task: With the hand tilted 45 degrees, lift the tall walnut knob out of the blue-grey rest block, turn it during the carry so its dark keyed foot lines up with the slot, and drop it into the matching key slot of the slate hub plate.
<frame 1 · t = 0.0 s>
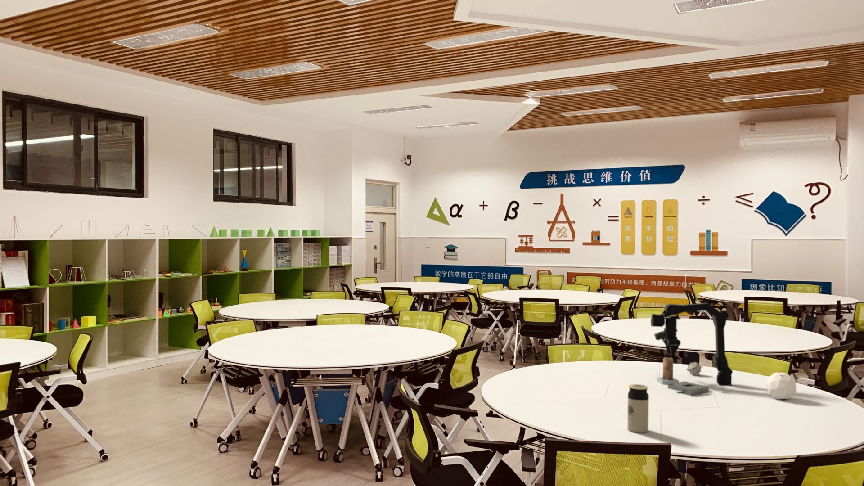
hand: (670, 355, 344), 15 cm above the table, tool pointing down, fingers open, 9 cm apart
spiky grey ball: (694, 375, 364), on the table
travel mug: (637, 430, 255), on the table
geodesic sphere: (780, 399, 310), on the table
knob: (667, 382, 339), point 1 cm above the table, touching rest block
rest block: (667, 384, 339), on the table
hub plate: (688, 391, 324), on the table
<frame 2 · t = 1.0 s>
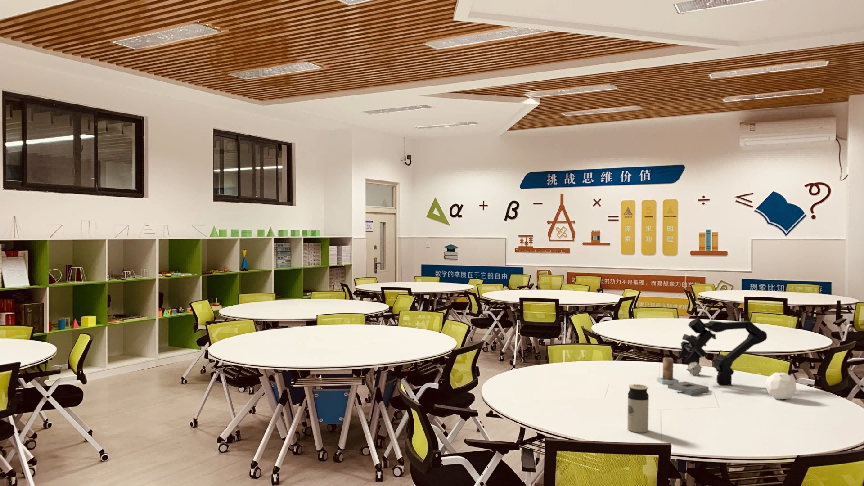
hand: (682, 360, 339), 13 cm above the table, tool tilted 45°, fingers open, 9 cm apart
nothing on the table moved.
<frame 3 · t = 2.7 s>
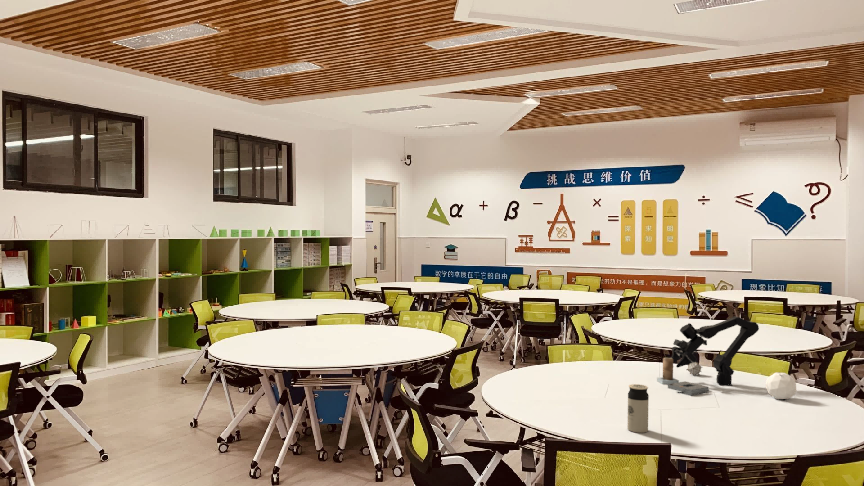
hand: (672, 365, 339), 10 cm above the table, tool tilted 45°, fingers open, 9 cm apart
nothing on the table moved.
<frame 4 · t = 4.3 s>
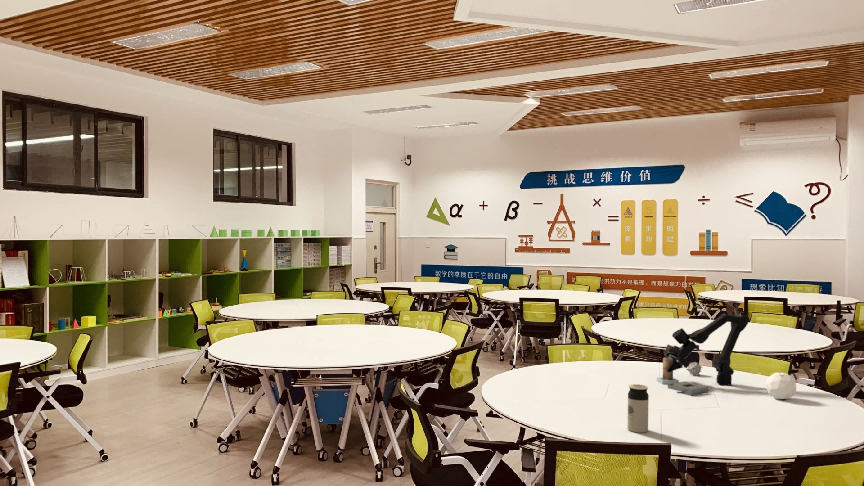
hand: (665, 370, 338), 8 cm above the table, tool tilted 45°, fingers closed on knob, 5 cm apart
knob: (667, 382, 339), point 1 cm above the table, touching gripper, rest block
everything else where it was.
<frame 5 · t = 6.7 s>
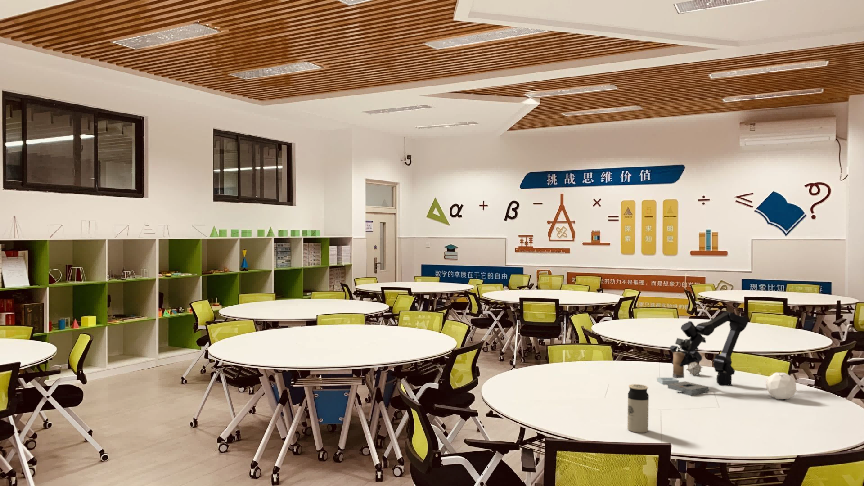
hand: (676, 365, 329), 12 cm above the table, tool tilted 45°, fingers closed on knob, 5 cm apart
knob: (678, 377, 329), point 6 cm above the table, touching gripper
everything else where it was.
when the fingers open (10 cm above the table, at t = 9.2 s): knob drops 2 cm, resting on hub plate.
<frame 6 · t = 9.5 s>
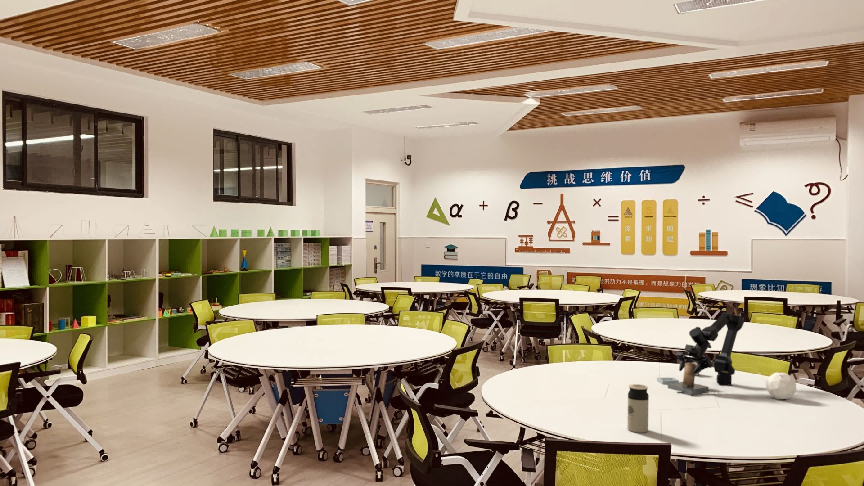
hand: (686, 372, 323), 10 cm above the table, tool tilted 45°, fingers open, 8 cm apart
knob: (687, 388, 324), point 1 cm above the table, tilted 9°, touching hub plate
everything else where it was.
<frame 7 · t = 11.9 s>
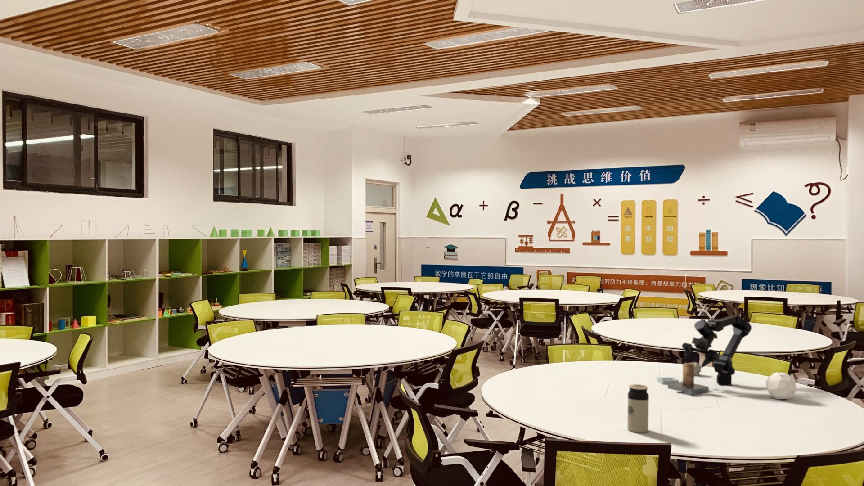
hand: (693, 364, 328), 13 cm above the table, tool tilted 40°, fingers open, 9 cm apart
knob: (688, 389, 324), point 1 cm above the table, touching hub plate
everything else where it was.
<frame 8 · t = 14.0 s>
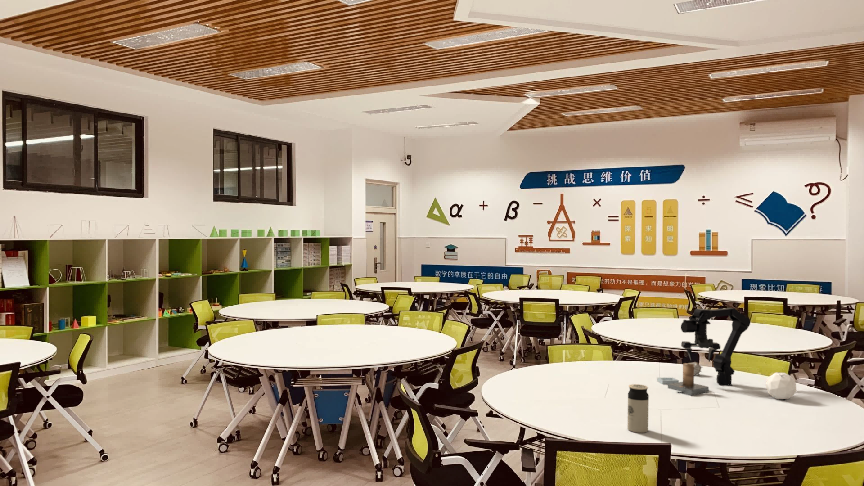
hand: (700, 361, 337), 13 cm above the table, tool pointing down, fingers open, 9 cm apart
nothing on the table moved.
at the end: knob 0.1 cm off-centre on the hub plate, point 1.0 cm above the hub plate's base; knob tilted 0°; the gripper is holding nothing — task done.
